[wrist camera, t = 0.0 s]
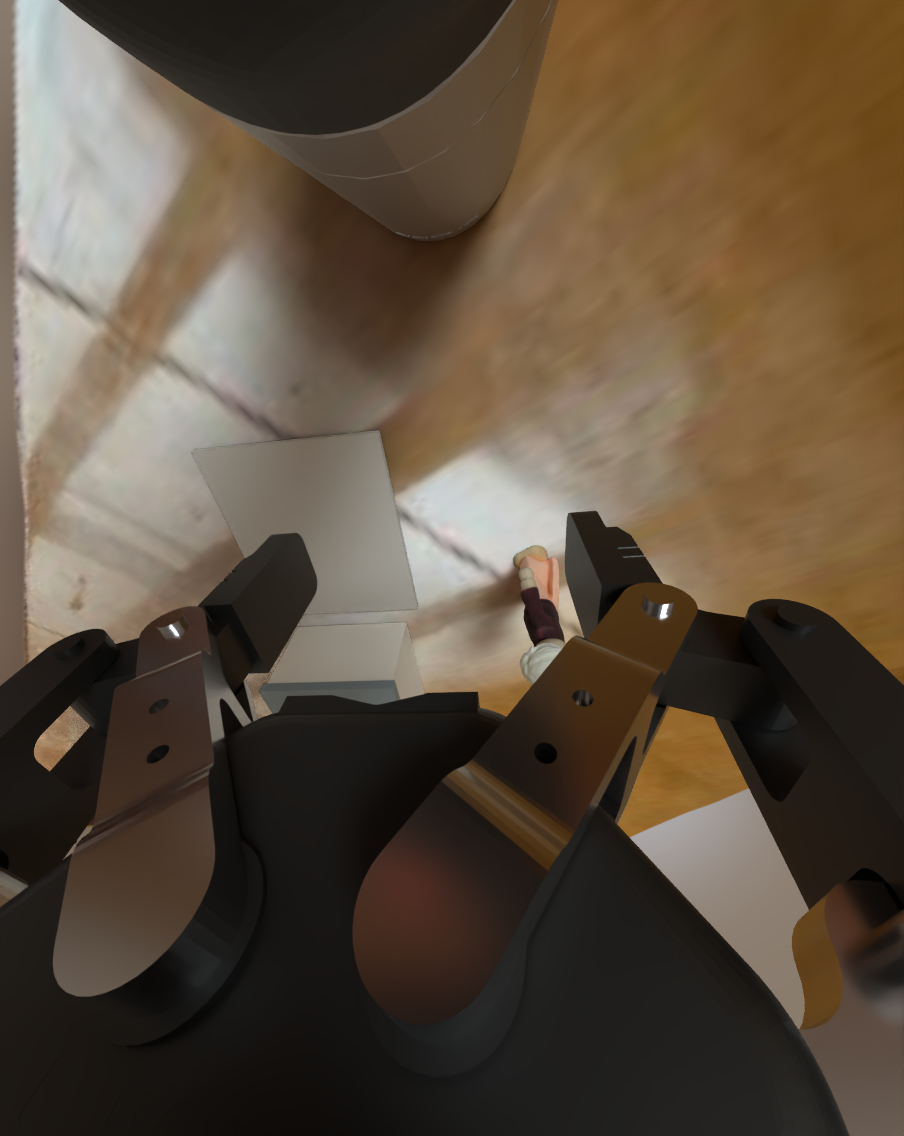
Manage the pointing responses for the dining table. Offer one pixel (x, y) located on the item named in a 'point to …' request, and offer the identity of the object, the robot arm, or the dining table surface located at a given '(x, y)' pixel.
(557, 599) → the grandmother figurine
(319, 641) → the small white cabinet
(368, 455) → the mat
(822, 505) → the dining table surface
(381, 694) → the lid
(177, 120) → the dining table surface
